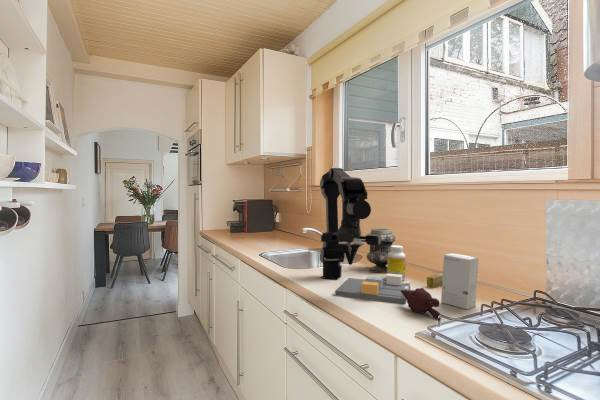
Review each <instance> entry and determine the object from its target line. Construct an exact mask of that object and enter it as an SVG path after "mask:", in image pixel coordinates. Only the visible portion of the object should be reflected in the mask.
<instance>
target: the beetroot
mask: <svg viewBox="0 0 600 400" xmlns="http://www.w3.org/2000/svg"><path fill="white" fill-rule="evenodd" d="M401 293H402V294H403V295H404V297H405V298H406V299H407V301H406V304H408V305H407V307H408V308H409V309H410V311H411V312H417V313H420V314H426V313H429V315H430V316H432V317H433V318H434V319H436V320H439V319H438V316H439V315H441V312H439V311H438V310H436V309H435V308H437V307H439V306H440V304H441V303H440V300H439V299H438V298H434V297H433V296H432V295H431V294H430V292H428V291H427V290H426V289H424V288H423V287H421V288H419V287H417V288H415V289H412V290H411V289H410V290H401ZM441 316H442V315H441Z"/></svg>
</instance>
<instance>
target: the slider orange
mask: <svg viewBox="0 0 600 400" xmlns="http://www.w3.org/2000/svg"><path fill="white" fill-rule="evenodd" d="M361 293H364V294H372V295H378V293H379V283H376V282H367V281H363V282H362V284H361Z"/></svg>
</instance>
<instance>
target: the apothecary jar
mask: <svg viewBox="0 0 600 400" xmlns="http://www.w3.org/2000/svg"><path fill="white" fill-rule="evenodd" d="M392 231H393V230H392V229H391V228H385V227H384V228H383V227H373V228H371V231H370V233H369V234H379V235H380V236H381V243H380V244H379V245H369V252H368V253H367V254H366V259H367V261H368V262H370V263H371V264H374V265H373V266H371V267H370V268H368V270H369V271H370V272H373V273H378V274H379V273H382V274H384V273H385V274H388V253H389V252H391V249H390V246H393V243H394V242H395V241H396V236H395V234H393V232H392Z"/></svg>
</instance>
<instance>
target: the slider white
mask: <svg viewBox="0 0 600 400" xmlns="http://www.w3.org/2000/svg"><path fill="white" fill-rule="evenodd" d="M385 276H386V281H385V282H386V284H389V285H399V286H401V285H402V283H403V281H402V275H399V274H388V273H386V275H385Z"/></svg>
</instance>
